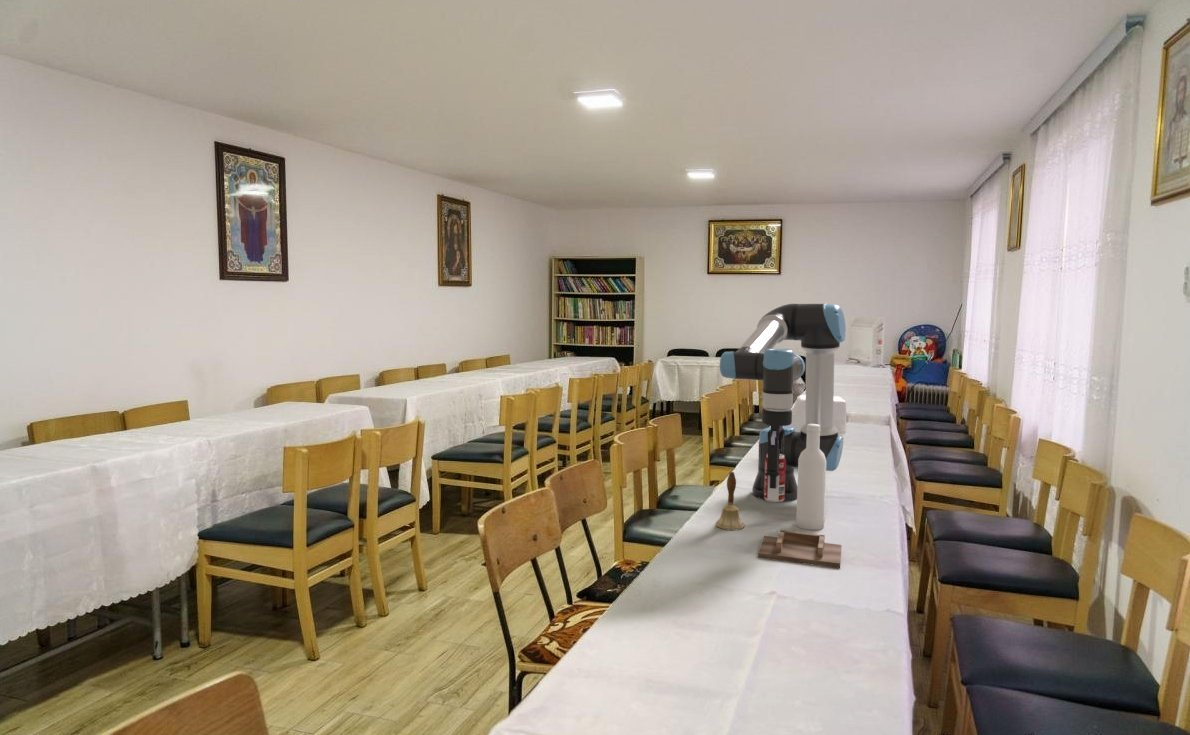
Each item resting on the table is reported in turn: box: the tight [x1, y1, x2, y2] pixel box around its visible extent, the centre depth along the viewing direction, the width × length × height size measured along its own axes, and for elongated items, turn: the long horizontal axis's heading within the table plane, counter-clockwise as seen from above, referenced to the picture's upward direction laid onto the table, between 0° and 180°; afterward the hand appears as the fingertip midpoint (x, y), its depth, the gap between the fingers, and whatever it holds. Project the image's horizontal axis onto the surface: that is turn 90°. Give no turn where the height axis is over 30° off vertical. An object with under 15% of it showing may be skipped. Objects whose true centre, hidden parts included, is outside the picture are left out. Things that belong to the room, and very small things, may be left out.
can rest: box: [757, 529, 842, 569], centre depth 183 cm, size 14×20×4 cm
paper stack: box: [788, 394, 848, 437], centre depth 289 cm, size 21×27×26 cm
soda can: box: [764, 454, 786, 503], centre depth 183 cm, size 5×5×12 cm
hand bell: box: [715, 471, 745, 531], centre depth 204 cm, size 8×8×16 cm
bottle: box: [795, 424, 827, 531], centre depth 204 cm, size 8×8×30 cm
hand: (774, 496), depth 183 cm, fingers closed on soda can, 5 cm apart
